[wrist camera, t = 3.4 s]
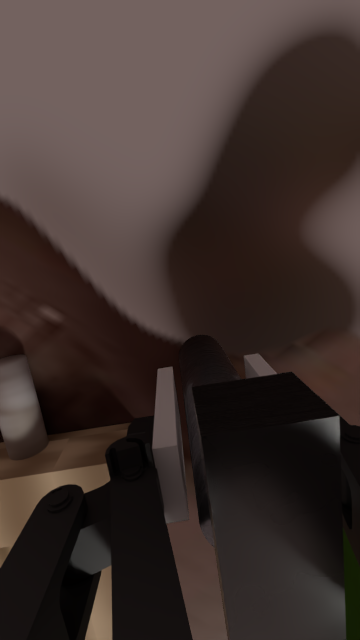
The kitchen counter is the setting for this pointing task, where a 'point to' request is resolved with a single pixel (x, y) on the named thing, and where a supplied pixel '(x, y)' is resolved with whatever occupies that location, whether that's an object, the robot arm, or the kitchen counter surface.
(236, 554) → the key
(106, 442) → the jig
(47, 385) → the kitchen counter surface
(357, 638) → the wine bottle
